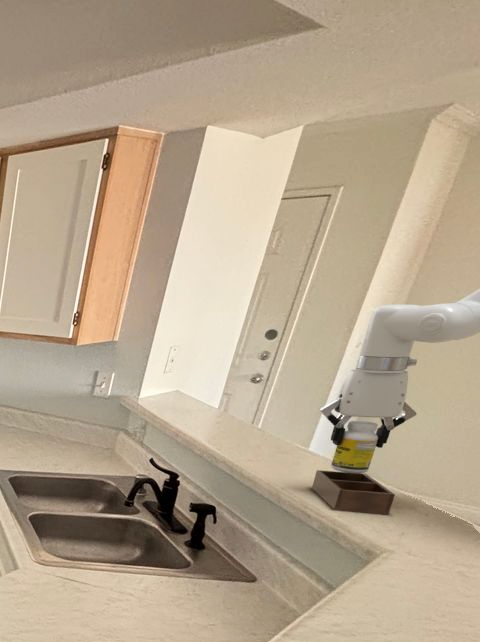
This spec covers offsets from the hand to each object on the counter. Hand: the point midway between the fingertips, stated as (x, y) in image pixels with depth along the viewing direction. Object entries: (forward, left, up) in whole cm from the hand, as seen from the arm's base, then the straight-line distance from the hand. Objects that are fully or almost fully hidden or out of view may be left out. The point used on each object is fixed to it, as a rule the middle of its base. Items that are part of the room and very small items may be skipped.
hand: (356, 444), depth 133 cm
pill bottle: (0, 0, -6) cm, 6 cm away
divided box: (0, +4, -12) cm, 13 cm away
